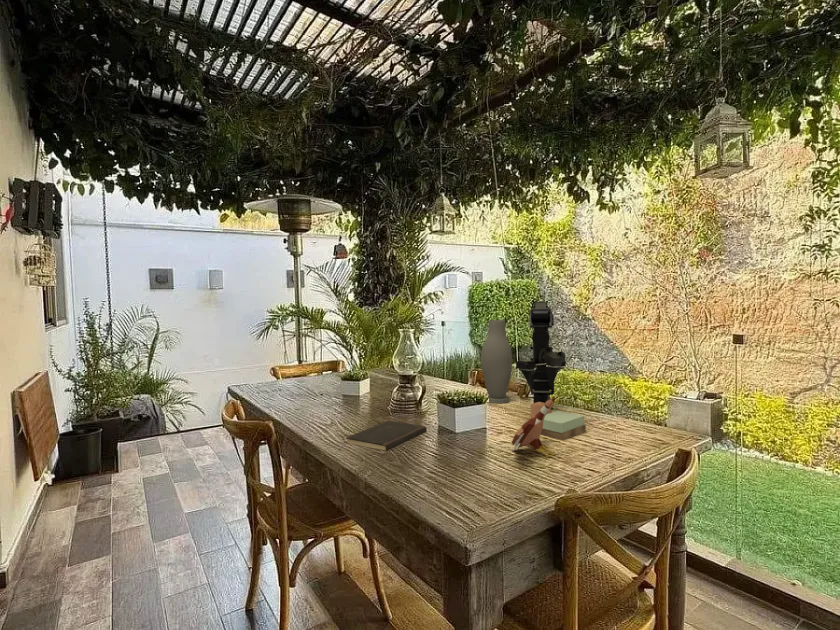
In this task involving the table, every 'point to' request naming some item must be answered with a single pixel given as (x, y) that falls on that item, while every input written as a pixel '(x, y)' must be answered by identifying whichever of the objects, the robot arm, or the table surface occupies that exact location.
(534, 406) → the terracotta block
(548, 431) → the walnut slab
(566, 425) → the sage slab
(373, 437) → the hardcover book
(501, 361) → the vase
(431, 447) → the table surface
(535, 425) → the decorative bird
